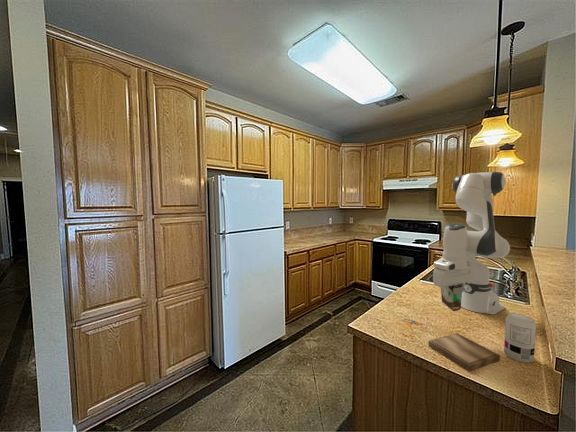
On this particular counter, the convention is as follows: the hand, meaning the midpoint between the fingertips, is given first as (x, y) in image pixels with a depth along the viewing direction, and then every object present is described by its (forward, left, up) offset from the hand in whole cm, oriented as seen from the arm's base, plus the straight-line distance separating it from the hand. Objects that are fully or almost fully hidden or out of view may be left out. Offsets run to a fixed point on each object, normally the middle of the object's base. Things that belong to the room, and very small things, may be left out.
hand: (453, 293), depth 108 cm
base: (+9, +11, -18) cm, 23 cm away
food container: (-1, 0, -6) cm, 6 cm away
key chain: (+8, -11, -18) cm, 23 cm away
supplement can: (-8, +20, -18) cm, 28 cm away
